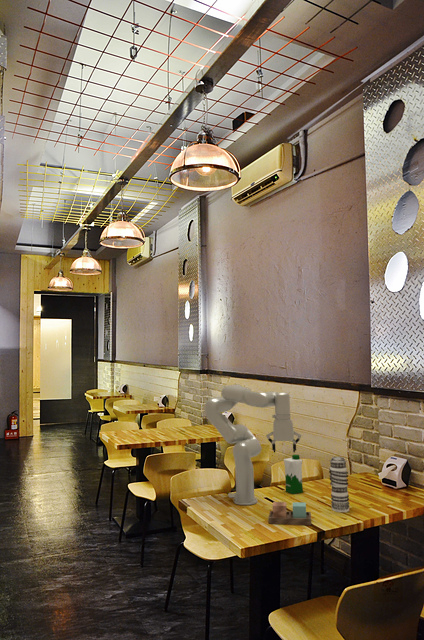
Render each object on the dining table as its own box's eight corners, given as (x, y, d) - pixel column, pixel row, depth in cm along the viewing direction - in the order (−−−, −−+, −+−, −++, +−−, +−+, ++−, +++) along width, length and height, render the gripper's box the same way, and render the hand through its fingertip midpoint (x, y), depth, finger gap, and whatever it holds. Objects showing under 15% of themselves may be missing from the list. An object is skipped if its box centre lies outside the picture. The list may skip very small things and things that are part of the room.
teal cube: (293, 519, 213) (292, 506, 214) (293, 515, 219) (292, 502, 220) (306, 520, 212) (305, 506, 213) (306, 515, 218) (305, 502, 219)
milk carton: (305, 492, 261) (303, 456, 263) (292, 495, 257) (290, 457, 259) (296, 489, 269) (294, 453, 271) (283, 491, 265) (281, 455, 267)
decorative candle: (327, 509, 230) (324, 457, 233) (337, 505, 237) (334, 454, 239) (344, 513, 224) (341, 460, 226) (353, 509, 230) (350, 457, 233)
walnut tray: (268, 523, 213) (268, 506, 214) (270, 516, 223) (269, 500, 224) (311, 525, 210) (310, 508, 210) (310, 517, 219) (310, 501, 220)
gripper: (265, 418, 233) (266, 453, 232) (300, 418, 230) (301, 453, 229) (266, 416, 241) (267, 450, 239) (300, 416, 237) (301, 450, 236)
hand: (284, 452), depth 234 cm, fingers open, 9 cm apart
